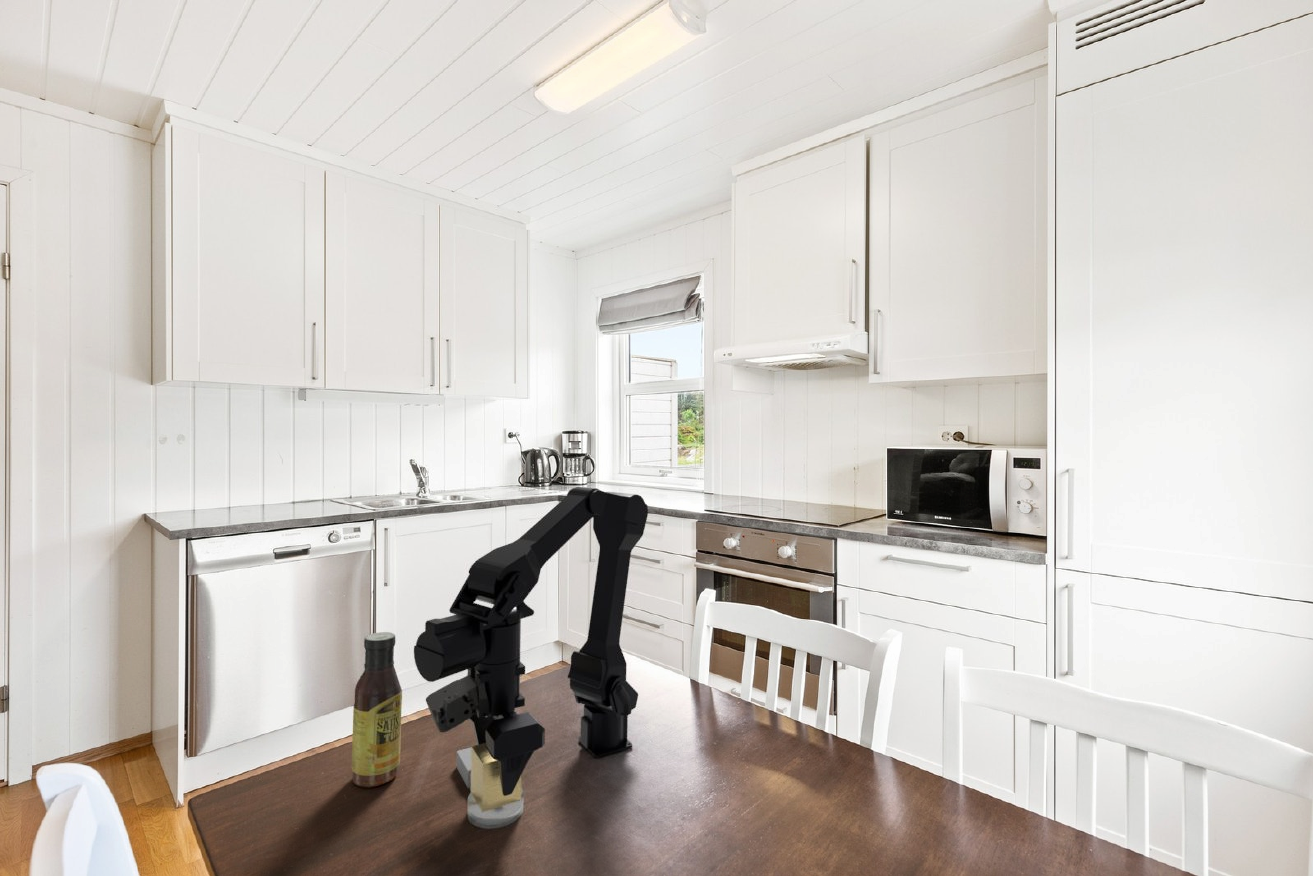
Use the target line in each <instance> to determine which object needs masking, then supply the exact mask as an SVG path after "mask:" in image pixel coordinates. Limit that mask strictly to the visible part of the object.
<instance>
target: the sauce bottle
mask: <svg viewBox="0 0 1313 876" xmlns="http://www.w3.org/2000/svg"><path fill="white" fill-rule="evenodd" d="M395 645H396V634H394V633H393V632H390V631H389V632H388V631H383V632H382V631H381V632H374V633H370V634H368V635H365V637H364V641H363V647H364V649H365V650H364V651H365V653H364V654H365V657H364V660H365V661H364V664H363V666H364V667H363V668H364V670H363V673H362V674H361V675H360V676H359V678H358V680H357V683H356V684H355V689H354V704H353V710H352V711H353V712H352V713H353V715H352V743H351V746H352V747H351V767H350V769H351V772H352V782H353V784H355V785H356V786H358V787H364V788H373V787H377V786H382V785H384V784H386V783H388V782H390V781H392V780H394V779H395V778H396V776H397V775H398V772H399V768H400V767H399V766H400V764H401V763H400V762H401V744H402V743H401V742H402V741H401V740H402V738H401V737H402V736H401V735H402V733H401V732H402V709H403V708H402V704H403V703H402V701H403V690H402V687H401V683H400V681H399V678H398V675H397V674H398V673H397V671H396V668H395V661H394V652H395V651H394V650H395Z"/></svg>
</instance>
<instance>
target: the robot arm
mask: <svg viewBox="0 0 1313 876" xmlns="http://www.w3.org/2000/svg"><path fill="white" fill-rule="evenodd" d="M648 515H649V508H648V504H647V503H646V501H645V500H644V498H643V497H642V496H641V495H640V494H636V493H634V494H633V493H626V492H625V493H623V492H615V491H602V490H600V489H599V488H595V487H586V486H575V487H573V488H571V489H569V491H568V492H567V494H566V496H565V497H564V498H563V499H562V500H561V501H560V502H559V503H557V504H556V505H555V506H554V507H553V508H552V509H551V510H549V512H547V513H546V514H545V515H544V516H543V517H541V519H539V520H538V521H537V522H535V524H534V525H532V527H530V528H529V529H528V530H527V531H526V532H525V533H523V534H522V535H521V536H520V537H519V538H517V539H516V540H514V541H513V542H511V543H507V544H505V545H502V546H500V547H496V548H494V549H492V550H491V551H489V552H488V553H486V554H484V555H483V556H481V557H479V558H478V559H476V560H475V561H474V562H473V563H472V564H471V566H470V568H469V570H468V575H467V578H466V580H465V581H464V583H463V584H462V586H461V588H460V590H459V592H458V594H457V595H456V596H455V599H454V601H453V602H452V604H451V606H450V608H449V613H450V614H453V615H450V616H446V617H442V618H431V619H429V620H426V621H425V625H424V629H425V630H424V631H423V632H421V633H420V634H419V635H418V637H417V640H416V643H415V645H414V646H413V657H414V663H415V667H416V669H417V671H418V673H419V674H420V676H421V678H423V679H424V680H425V681H426V682H429V683H434V682H436V681H438V680H441V679H445V678H447V677H450V676H453V675H456V674H458V673H460V672H461V673H462V672H464V671H466V670H467V675H466V676H463V677H461V678H459V679H456V680H454V681H452V682H450V683H448V684H446V685H444V686H443V687H441V688H439V689H437V690H435V691H434V692H431V693H430V694H428V695H427V696H426V697H425V702H426V705H427V707H428V710H429V712H430V714H431V718H432V720H433V722H434V724H435V725H436V727H437V729H438V732H439V733H446V732H448V731H451V730H453V729H454V728H456V727H458V726H460V725H461V724H464V723H465V722H467V721H469V720H470V721H471V724H472V727H473V731H474V735H475V740H476V745H479V744H483V743H487V746H486V749H487V751H488V752H489V754H490V755H491V757H492V758H493V759H495V760H498V767H499V774H500V781H501V787H502V793H503V795H504V796H507V795H510V794H512V793H513V791H514V789H515V787H516V785H517V782H518V780H519V778H520V776H521V777H522V774H523V772H524V770H525V769H526V766H527V764H528V762H529V761H530V759H531V757H532V756H533V754H534V752H535V751H537V750H539V749H541V748H543V747H544V746H545V743H546V728H545V727H544V726H543V725H542V724H541V723H540V721H538V720H537V718H536V717H535V716H534V715H532V713H530V712H528V711H526V712H523V713H519V714H517V712H516V711H515V709H517V708H522V707H525V705H526V703H525V702H526V699H525V697H524V696H523V694H521V690H520V689H521V686H520V685H521V676H522V675H526V665H525V664H524V663H523V662H522V661H521V637H522V636H521V635H522V633H521V632H522V631H521V630H522V629H521V625H522V619H525V618H526V619H527V618H528V617H531V616H534V614H535V610H534V609H532V608H531V607H530V606H529V605H528V604H526V602H525V600H526V599H527V597H528V596H529V594H530V593H531V592H532V590H533V589H534V588H535V587H536V585H537V584H538V582H539V579H540V574H541V569H543V567H544V565H545V564H546V563H547V562H548V561H549V560H550V559H551V558H552V557H553V556H554V555H556V553H557V552H558V551H559V550H561V548H562V547H563V546H564V545H566V544H567V543H568V542H569V541H570V540H571V539H572V538H573V537H574V536H575V535H576V534H577V533H578V532H579V531H580V530H581V529H582V528H583V527H584V526H585V525H586V524H587V523H589V521H591V519H592V530H593V532H594V535H595V539H596V541H597V543H598V545H599V551H598V560H597V568H596V574H595V581H594V591H593V597H592V604H591V609H590V611H591V612H590V618H589V624H588V625H589V627H588V633H587V638H586V641H585V642H584V644H583V645H582V646H581V648H580V650H579V651H576V650H574V651H572V654H571V656H570V668H569V672H568V675H567V679H569V688H570V690H572V692H573V694H574V697H575V702H576V703H577V704H581V705H583V715H582V716H581V717H580V736H579V737H578V742H580V743H581V745H583V747H584V748H585V749H586V750H587V751H588V752H589V753H590V754H591V755H592V756H593V757H594V758H597V759H599V758H602V757H605V756H609V755H612V754H615V753H620V752H621V751H625V750H628V749H632V748H633V743H632V742H631V741H630V739H628V726H629V725H628V724H629V723H628V718H629V716H630V715H631V714H632V711H633V710H634V709H635V708H636V707H637V704H638V703H637V702H638V698H639V693H638V691H637V690H635V689H634V687H632V686H631V684H630V683H629V682H628V681H627V661H626V658H625V655H624V653H623V651H622V647H621V646H620V639H621V633H622V632H621V630H622V624H623V616H624V609H625V600H626V596H627V595H626V593H627V586H628V578H629V570H630V564H631V563H630V562H631V557H632V555H631V554H632V550H634V548H635V547H636V545H637V544H638V542H639V541H640V540H641V538H642V537H643V535H644V532H645V527H646V524H647V520H648ZM476 601H479V602H483V603H487V604H490V605H492V607H489V606H486V605H482V604H480V603H476Z"/></svg>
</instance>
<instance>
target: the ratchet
mask: <svg viewBox="0 0 1313 876" xmlns="http://www.w3.org/2000/svg"><path fill="white" fill-rule="evenodd" d="M455 764H456V769H457V771H458V772H459V775H460V776H461V779H462V780H463V782H464V784H465V785H466V787H467V789H468V788H469V790H470V791H471V747H468V748H464V749H459V750H457V751H456V763H455ZM524 799H525V798H524V789H523V788H522V787H521V800H519V801H516V802H513V803H510V804H507V805H504V806H500V807H497V808H494V809H491V810H488V811H485V812H482V811H481V809H480V807H479V805H478V804H477V802H476V800H475V798H474V797H473V795H472V793H471V792H470V793H469V794H468V797H467V815H466V816H467V820H468V821H469V823H470V824H471V825H473V826H475V827H478V828H481V829H488V830H489V829H490V830H491V829H498V828H503V827H506V826H508V825H511V824H513V823H514V822H515V821H518V820H519V818H520V817H521V815H522V814H523V812H524Z"/></svg>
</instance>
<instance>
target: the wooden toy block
mask: <svg viewBox="0 0 1313 876" xmlns="http://www.w3.org/2000/svg"><path fill="white" fill-rule="evenodd" d="M486 746H487V743H483V744H479V745H477V744H476V745H472V746H471V747H470V748H471V790H470V793H472V795H473V797H474V798H475V800H476V802H477V804H478V805H479V807H480V809H481V811H482V812H485V811H488V810H491V809H494V808H497V807H500V806H504V805H507V804H510V803H513V802H516V801H519V800H521V788H522V775H521V776H520V778H519V780H518V782H517V785H516V787H515V789H514V791H513V793H512V794H510V795H507V796H504V795H503V793H502V787H501V781H500V774H499V767H498V760H495V759H493V758H492V757H491V755H490V754H489V752H488V751H487V749H486Z"/></svg>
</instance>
